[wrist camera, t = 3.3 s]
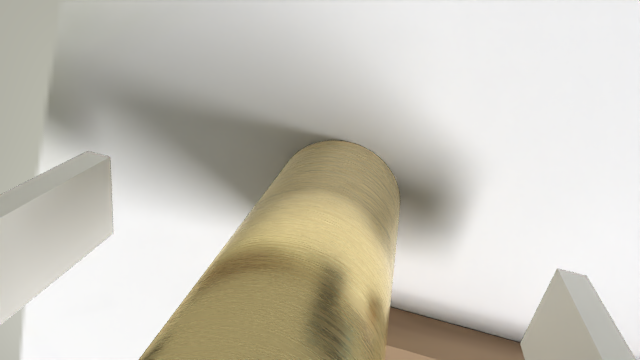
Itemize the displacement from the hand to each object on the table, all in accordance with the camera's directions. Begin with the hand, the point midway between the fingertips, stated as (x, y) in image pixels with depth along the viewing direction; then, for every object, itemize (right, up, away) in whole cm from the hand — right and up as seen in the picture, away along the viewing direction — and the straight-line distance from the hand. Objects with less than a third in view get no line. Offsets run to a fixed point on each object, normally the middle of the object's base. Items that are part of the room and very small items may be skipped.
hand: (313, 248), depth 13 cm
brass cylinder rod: (+1, +1, +3) cm, 3 cm away
